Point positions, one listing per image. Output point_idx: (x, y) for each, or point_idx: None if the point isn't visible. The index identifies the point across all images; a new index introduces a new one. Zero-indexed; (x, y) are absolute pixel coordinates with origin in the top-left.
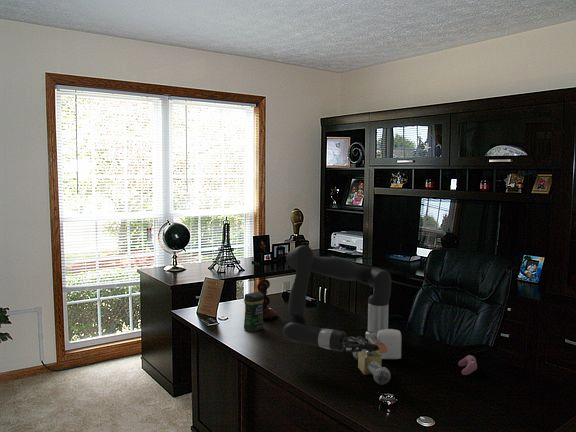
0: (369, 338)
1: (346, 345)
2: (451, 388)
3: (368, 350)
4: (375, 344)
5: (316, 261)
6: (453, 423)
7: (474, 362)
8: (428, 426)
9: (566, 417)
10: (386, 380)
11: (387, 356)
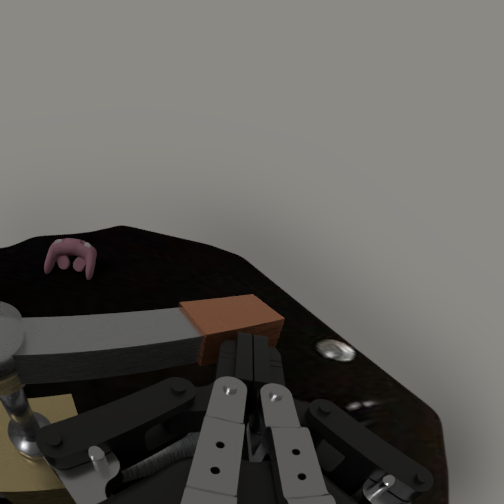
0: (55, 365)
1: (432, 483)
2: (162, 306)
3: (35, 436)
4: (239, 332)
5: None
6: (311, 321)
7: (89, 244)
8: (350, 346)
9: (211, 246)
10: None
11: None
